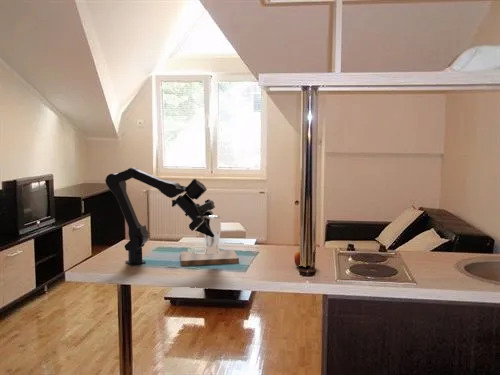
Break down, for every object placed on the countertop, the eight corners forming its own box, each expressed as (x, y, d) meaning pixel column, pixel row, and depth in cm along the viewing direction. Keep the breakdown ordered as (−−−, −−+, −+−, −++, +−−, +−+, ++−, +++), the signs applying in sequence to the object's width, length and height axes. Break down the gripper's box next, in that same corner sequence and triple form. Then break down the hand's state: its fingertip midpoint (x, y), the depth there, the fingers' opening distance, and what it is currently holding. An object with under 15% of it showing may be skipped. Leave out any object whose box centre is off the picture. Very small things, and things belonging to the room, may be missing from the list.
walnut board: (181, 265, 197) (181, 260, 197) (180, 256, 212) (180, 251, 212) (238, 262, 202) (238, 258, 201) (233, 253, 216) (233, 249, 216)
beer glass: (219, 255, 192) (219, 218, 190) (202, 254, 193) (202, 218, 191) (222, 251, 199) (222, 215, 197) (205, 250, 199) (205, 215, 198)
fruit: (290, 266, 192) (293, 247, 195) (294, 271, 198) (297, 253, 201) (309, 268, 189) (312, 249, 192) (313, 273, 195) (316, 255, 198)
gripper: (197, 196, 184) (224, 226, 184) (208, 191, 203) (233, 217, 202) (177, 216, 186) (204, 245, 186) (190, 208, 205) (215, 235, 204)
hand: (215, 234), depth 195 cm, fingers closed on beer glass, 6 cm apart
